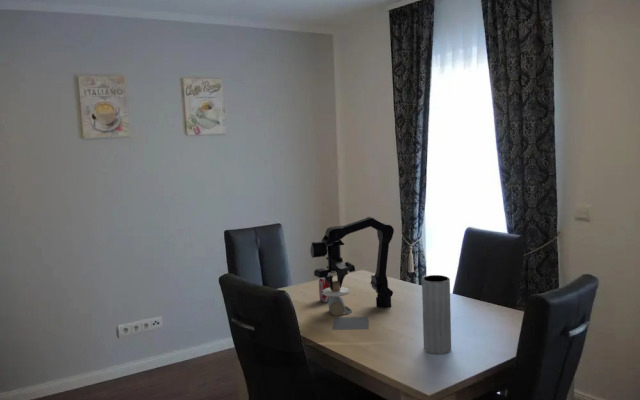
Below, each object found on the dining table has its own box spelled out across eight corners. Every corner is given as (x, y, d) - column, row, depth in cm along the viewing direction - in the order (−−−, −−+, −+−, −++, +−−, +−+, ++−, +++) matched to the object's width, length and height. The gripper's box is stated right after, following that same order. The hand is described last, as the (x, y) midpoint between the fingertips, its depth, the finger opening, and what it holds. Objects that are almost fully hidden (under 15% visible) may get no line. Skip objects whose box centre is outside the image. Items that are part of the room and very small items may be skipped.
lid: (349, 288, 248) (348, 278, 248) (348, 296, 237) (348, 285, 236) (323, 289, 249) (323, 278, 249) (321, 296, 238) (321, 285, 237)
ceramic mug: (329, 317, 240) (328, 301, 239) (328, 311, 248) (327, 295, 247) (352, 316, 240) (352, 300, 239) (350, 310, 248) (350, 294, 247)
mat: (368, 318, 236) (368, 316, 236) (368, 330, 221) (368, 328, 221) (334, 319, 237) (334, 317, 237) (332, 331, 223) (332, 329, 222)
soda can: (332, 303, 260) (331, 279, 259) (318, 302, 262) (317, 279, 261) (335, 298, 267) (333, 275, 266) (321, 298, 269) (320, 275, 267)
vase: (431, 342, 206) (430, 273, 203) (455, 347, 200) (454, 277, 197) (418, 350, 198) (416, 279, 195) (443, 356, 192) (441, 283, 189)
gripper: (325, 261, 229) (327, 296, 231) (361, 255, 239) (362, 289, 241) (312, 257, 239) (314, 291, 241) (347, 251, 248) (349, 283, 250)
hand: (335, 288), depth 243 cm, fingers closed on lid, 4 cm apart
